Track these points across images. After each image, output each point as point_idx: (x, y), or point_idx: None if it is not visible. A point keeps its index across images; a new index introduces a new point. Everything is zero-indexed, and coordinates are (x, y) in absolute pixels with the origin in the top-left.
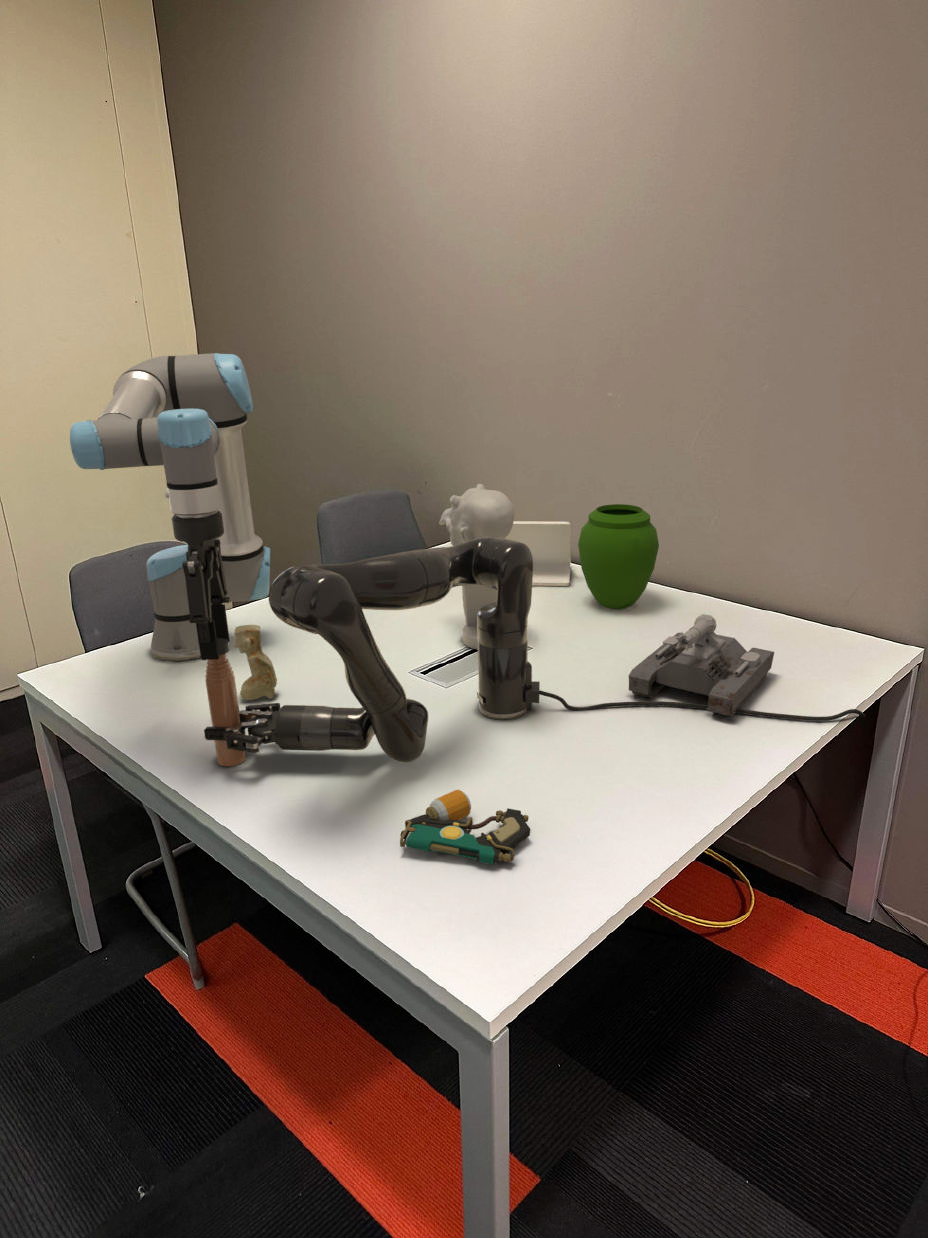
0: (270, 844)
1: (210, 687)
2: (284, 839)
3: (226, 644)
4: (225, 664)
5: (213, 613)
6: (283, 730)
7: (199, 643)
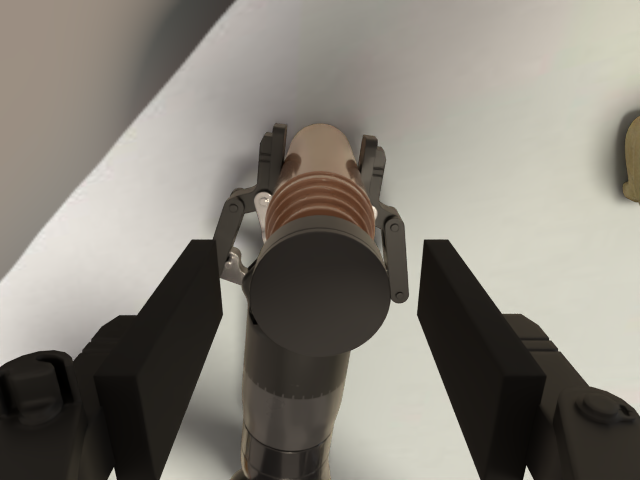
0: (23, 289)
1: (272, 195)
2: (41, 308)
3: (301, 351)
4: None
5: (474, 368)
6: (247, 334)
7: (163, 284)
